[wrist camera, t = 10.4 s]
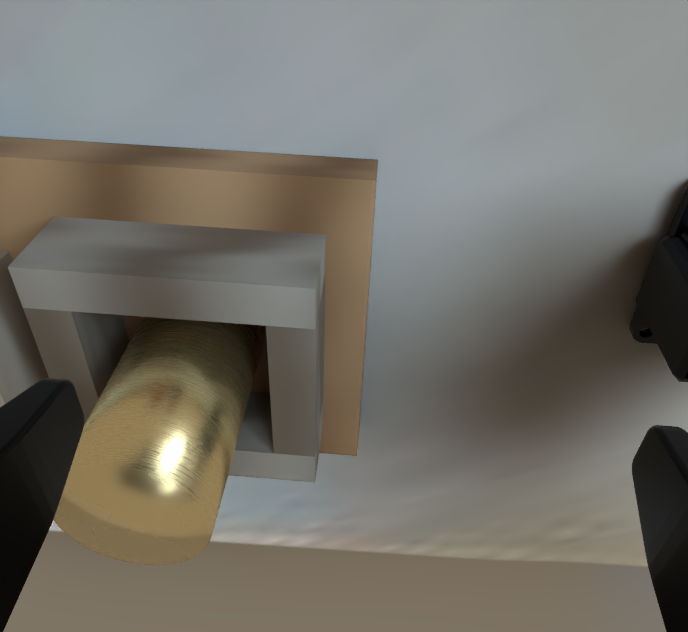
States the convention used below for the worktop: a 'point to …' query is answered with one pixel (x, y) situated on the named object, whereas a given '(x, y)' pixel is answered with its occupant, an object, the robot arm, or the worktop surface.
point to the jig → (193, 276)
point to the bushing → (161, 441)
